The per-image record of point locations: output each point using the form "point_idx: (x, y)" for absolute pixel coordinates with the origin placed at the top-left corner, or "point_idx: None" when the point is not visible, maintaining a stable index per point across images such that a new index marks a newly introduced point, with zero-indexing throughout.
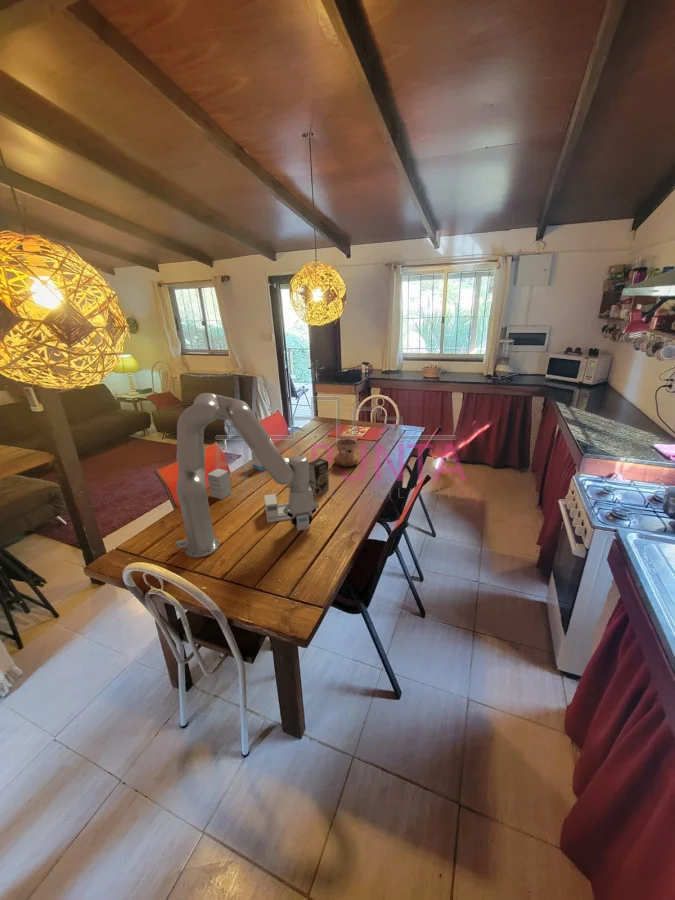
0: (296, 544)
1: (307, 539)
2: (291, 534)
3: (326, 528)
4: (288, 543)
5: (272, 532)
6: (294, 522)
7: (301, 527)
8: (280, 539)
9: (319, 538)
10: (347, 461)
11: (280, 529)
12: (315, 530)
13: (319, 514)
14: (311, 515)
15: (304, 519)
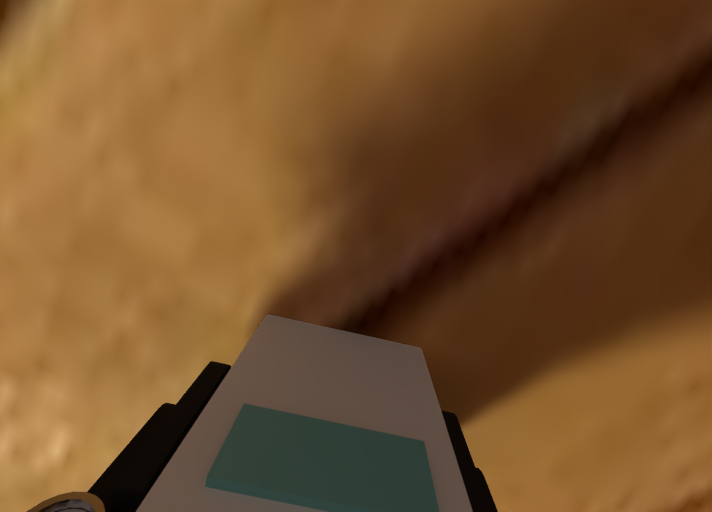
0: (596, 53)
1: (392, 89)
2: (528, 314)
3: (41, 203)
4: (677, 143)
5: (697, 457)
6: (477, 479)
7: (369, 358)
8: (708, 286)
9: (215, 12)
10: None
11: (586, 464)
12: (203, 237)
13: None
14: (77, 505)
15: (294, 453)
